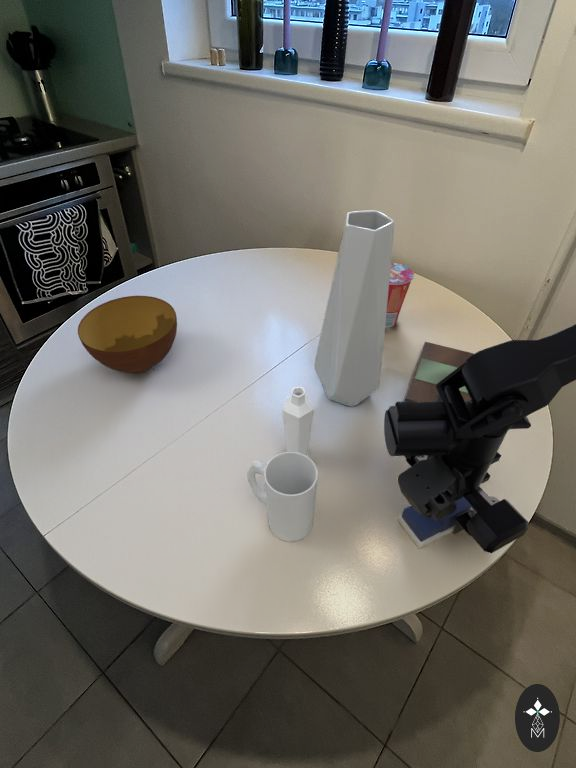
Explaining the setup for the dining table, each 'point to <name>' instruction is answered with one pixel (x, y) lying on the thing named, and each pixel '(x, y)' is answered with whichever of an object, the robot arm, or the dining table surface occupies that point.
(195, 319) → the dining table surface
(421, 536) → the blue stepped block
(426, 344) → the brown flat slab
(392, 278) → the cup
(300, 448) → the perfume bottle
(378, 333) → the vase
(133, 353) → the bowl
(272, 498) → the mug
